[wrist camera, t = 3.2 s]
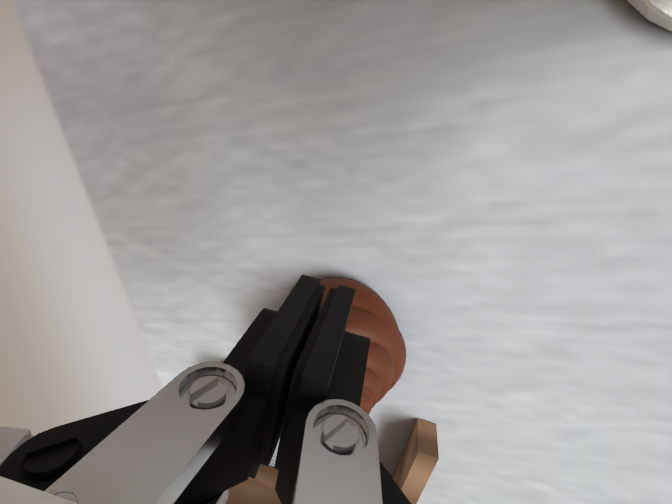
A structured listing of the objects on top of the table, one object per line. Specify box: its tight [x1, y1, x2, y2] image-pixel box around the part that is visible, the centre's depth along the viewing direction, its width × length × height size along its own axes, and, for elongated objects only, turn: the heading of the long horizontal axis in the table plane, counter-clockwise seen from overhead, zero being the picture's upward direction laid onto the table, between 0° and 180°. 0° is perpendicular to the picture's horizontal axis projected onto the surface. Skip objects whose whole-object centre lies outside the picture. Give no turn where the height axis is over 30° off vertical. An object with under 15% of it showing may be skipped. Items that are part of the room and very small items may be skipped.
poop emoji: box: [320, 278, 406, 414], centre depth 22 cm, size 10×8×9 cm
